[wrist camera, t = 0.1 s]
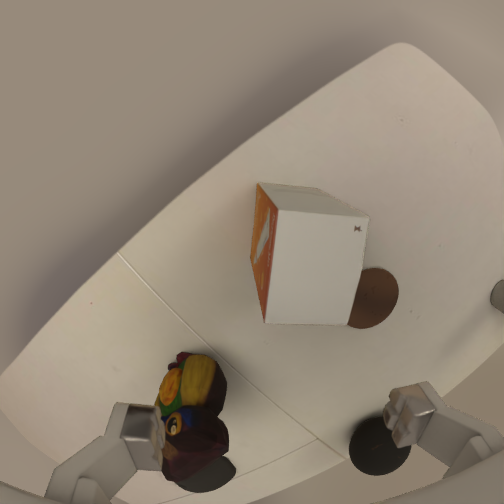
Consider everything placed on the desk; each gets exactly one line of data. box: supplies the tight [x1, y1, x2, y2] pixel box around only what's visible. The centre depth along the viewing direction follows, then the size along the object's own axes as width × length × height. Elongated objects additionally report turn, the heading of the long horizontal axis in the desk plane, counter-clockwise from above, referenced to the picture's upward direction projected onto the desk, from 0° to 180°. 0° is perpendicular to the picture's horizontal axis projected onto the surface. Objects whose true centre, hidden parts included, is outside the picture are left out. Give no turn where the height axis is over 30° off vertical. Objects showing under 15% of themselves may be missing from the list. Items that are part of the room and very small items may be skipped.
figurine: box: [154, 352, 229, 482], centre depth 31 cm, size 10×7×15 cm
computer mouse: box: [175, 456, 236, 493], centre depth 43 cm, size 6×11×4 cm, turn 109°
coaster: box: [347, 268, 399, 329], centre depth 36 cm, size 8×8×1 cm
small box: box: [250, 183, 370, 325], centre depth 27 cm, size 8×6×13 cm
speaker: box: [349, 416, 411, 476], centre depth 40 cm, size 10×10×10 cm
